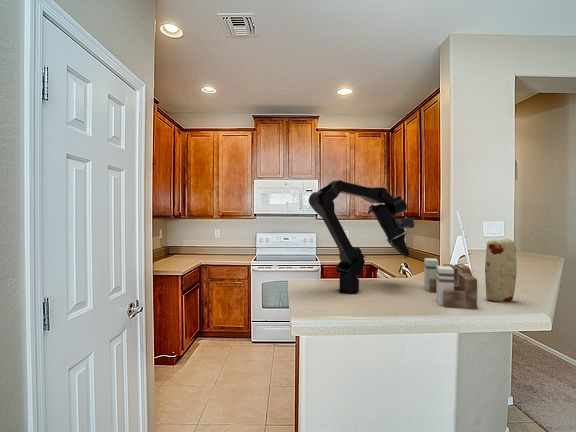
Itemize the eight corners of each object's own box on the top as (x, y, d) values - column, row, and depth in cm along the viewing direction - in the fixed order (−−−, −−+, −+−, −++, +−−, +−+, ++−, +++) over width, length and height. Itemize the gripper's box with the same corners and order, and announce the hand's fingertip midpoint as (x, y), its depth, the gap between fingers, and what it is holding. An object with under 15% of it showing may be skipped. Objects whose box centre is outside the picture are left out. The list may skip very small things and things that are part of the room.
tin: (474, 292, 117) (474, 268, 117) (464, 292, 118) (464, 268, 118) (460, 283, 132) (460, 262, 132) (452, 283, 133) (452, 262, 132)
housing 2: (444, 308, 99) (444, 278, 99) (438, 299, 108) (438, 272, 108) (477, 310, 97) (477, 279, 96) (468, 301, 106) (468, 273, 106)
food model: (494, 304, 102) (494, 239, 102) (478, 298, 109) (479, 238, 108) (522, 303, 103) (522, 239, 103) (505, 297, 110) (505, 237, 110)
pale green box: (426, 291, 118) (426, 260, 118) (424, 287, 124) (424, 258, 124) (438, 291, 117) (438, 260, 117) (436, 287, 123) (436, 258, 123)
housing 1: (430, 293, 116) (430, 267, 116) (426, 287, 126) (426, 263, 125) (457, 295, 114) (457, 268, 114) (452, 288, 123) (452, 264, 123)
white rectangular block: (439, 305, 101) (439, 269, 101) (436, 299, 107) (436, 265, 107) (454, 306, 100) (454, 269, 100) (450, 300, 106) (450, 266, 106)
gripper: (406, 203, 115) (430, 243, 110) (404, 213, 132) (425, 247, 128) (377, 219, 117) (400, 258, 113) (379, 226, 135) (399, 260, 130)
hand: (407, 256), depth 121 cm, fingers open, 9 cm apart
